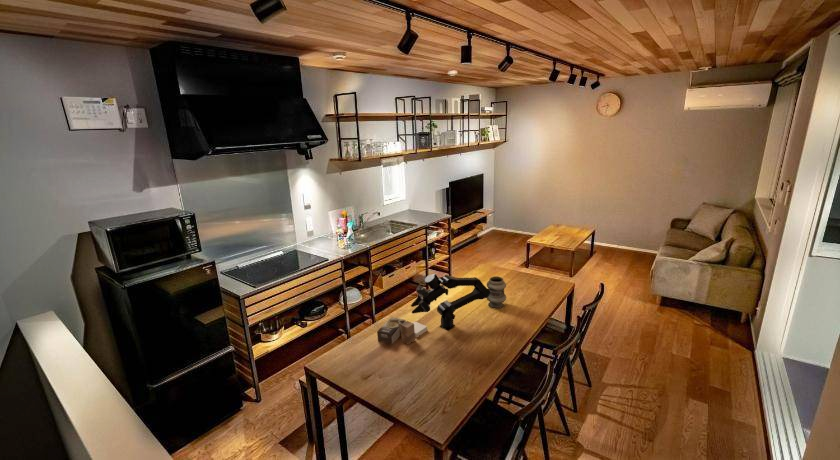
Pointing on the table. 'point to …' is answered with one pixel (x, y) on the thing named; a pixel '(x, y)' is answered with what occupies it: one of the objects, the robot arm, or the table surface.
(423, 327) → the base plinth
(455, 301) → the robot arm
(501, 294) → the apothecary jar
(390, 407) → the table surface
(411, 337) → the walnut block
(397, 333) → the coffee box
